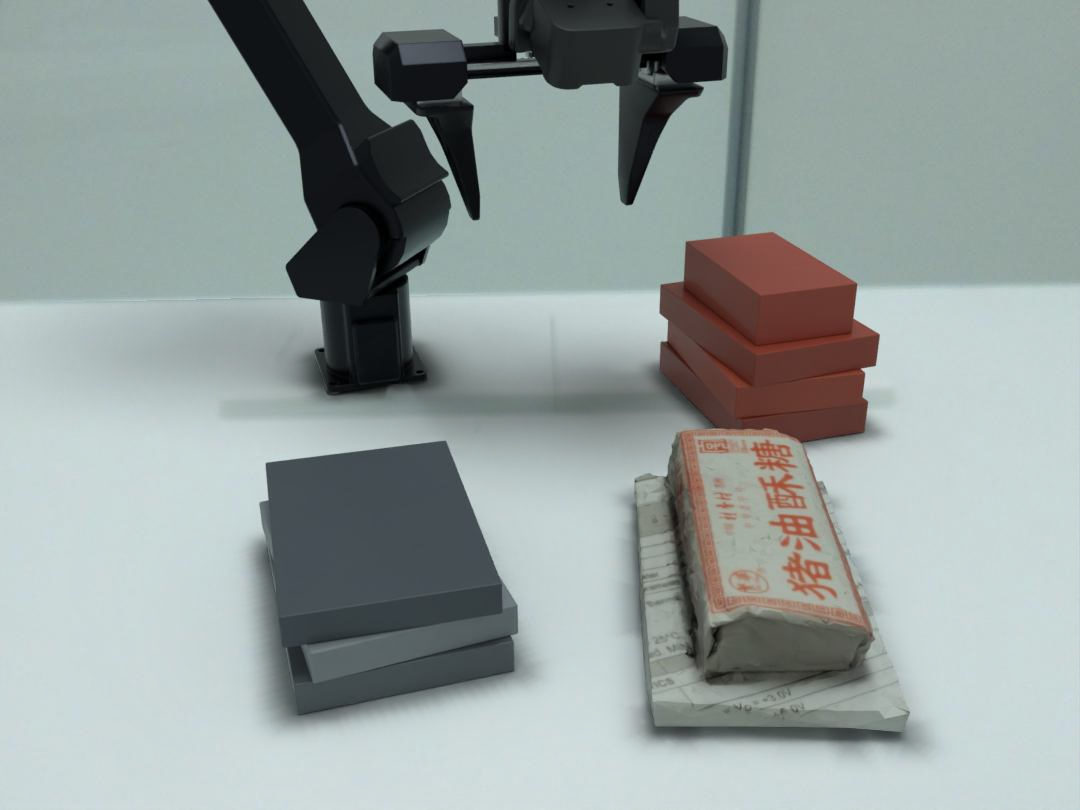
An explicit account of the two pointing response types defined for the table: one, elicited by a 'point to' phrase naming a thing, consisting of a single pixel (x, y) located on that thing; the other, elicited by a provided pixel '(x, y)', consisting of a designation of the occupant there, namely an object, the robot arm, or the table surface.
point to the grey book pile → (382, 576)
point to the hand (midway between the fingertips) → (551, 211)
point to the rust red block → (769, 288)
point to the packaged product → (754, 593)
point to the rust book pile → (765, 373)
